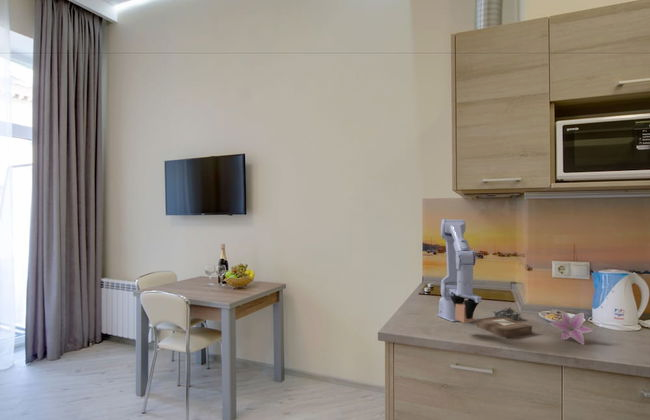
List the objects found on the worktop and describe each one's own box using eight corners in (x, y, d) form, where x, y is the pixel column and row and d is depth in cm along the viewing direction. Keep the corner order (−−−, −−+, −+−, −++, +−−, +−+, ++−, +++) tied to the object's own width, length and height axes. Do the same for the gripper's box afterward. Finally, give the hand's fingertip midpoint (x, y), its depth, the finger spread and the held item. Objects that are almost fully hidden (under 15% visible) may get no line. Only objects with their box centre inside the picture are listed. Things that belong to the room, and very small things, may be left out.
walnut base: (477, 326, 147) (477, 318, 147) (501, 322, 152) (501, 315, 152) (506, 338, 134) (506, 329, 134) (531, 333, 140) (531, 325, 140)
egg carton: (511, 315, 164) (511, 307, 164) (523, 320, 157) (523, 311, 157) (490, 316, 162) (490, 307, 162) (501, 321, 155) (501, 312, 155)
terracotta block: (455, 319, 139) (455, 303, 139) (464, 317, 141) (464, 302, 141) (464, 322, 135) (464, 307, 135) (473, 321, 137) (473, 305, 137)
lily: (545, 336, 140) (547, 318, 135) (563, 322, 144) (566, 304, 139) (577, 356, 130) (581, 338, 125) (596, 340, 134) (600, 321, 130)
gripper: (443, 278, 143) (443, 312, 143) (471, 286, 129) (470, 323, 130) (457, 277, 146) (456, 310, 146) (485, 284, 132) (485, 321, 132)
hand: (464, 316), depth 138 cm, fingers closed on terracotta block, 5 cm apart
